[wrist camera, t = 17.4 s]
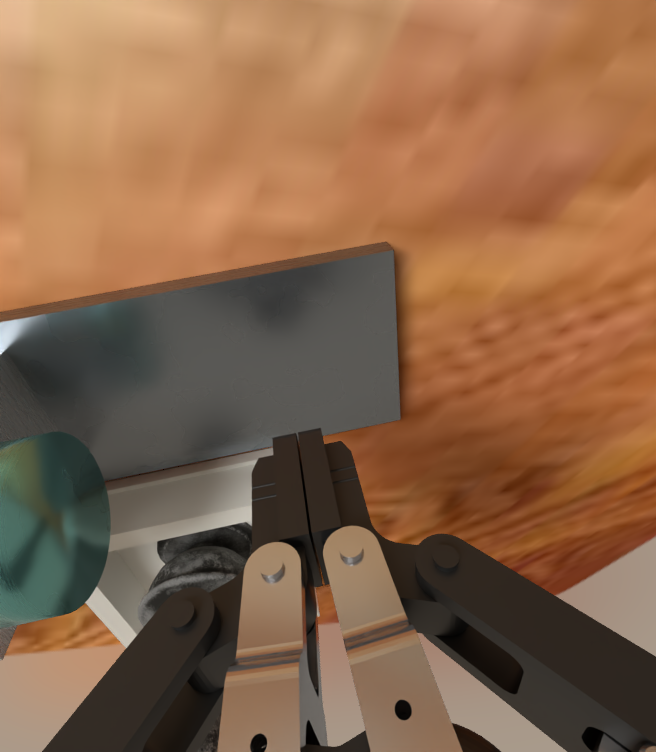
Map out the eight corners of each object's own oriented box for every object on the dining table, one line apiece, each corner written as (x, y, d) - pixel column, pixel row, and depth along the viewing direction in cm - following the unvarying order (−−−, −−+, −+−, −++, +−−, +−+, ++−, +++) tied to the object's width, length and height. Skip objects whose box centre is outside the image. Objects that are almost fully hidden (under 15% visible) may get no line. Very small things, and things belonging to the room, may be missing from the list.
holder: (285, 444, 21) (290, 492, 18) (317, 569, 27) (324, 617, 25) (55, 492, 20) (29, 548, 18) (143, 608, 26) (132, 662, 24)
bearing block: (385, 241, 16) (494, 361, 9) (394, 406, 21) (470, 569, 14) (-237, 355, 15) (-670, 597, 8) (-80, 503, 19) (-262, 739, 12)
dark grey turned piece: (248, 579, 25) (252, 887, 16) (143, 573, 24) (73, 920, 14) (276, 515, 23) (301, 842, 13) (160, 503, 21) (84, 876, 11)
